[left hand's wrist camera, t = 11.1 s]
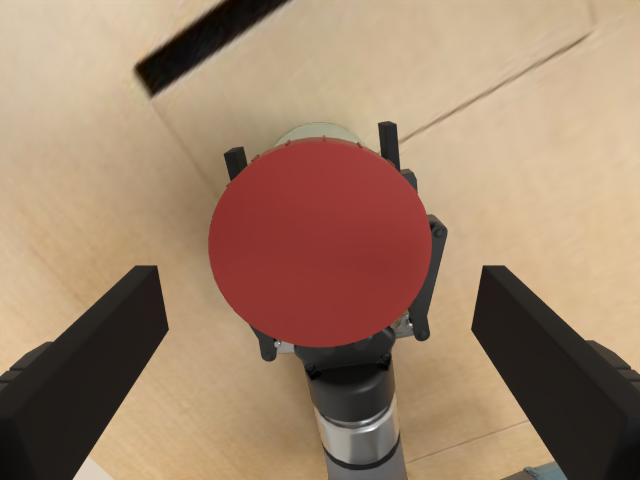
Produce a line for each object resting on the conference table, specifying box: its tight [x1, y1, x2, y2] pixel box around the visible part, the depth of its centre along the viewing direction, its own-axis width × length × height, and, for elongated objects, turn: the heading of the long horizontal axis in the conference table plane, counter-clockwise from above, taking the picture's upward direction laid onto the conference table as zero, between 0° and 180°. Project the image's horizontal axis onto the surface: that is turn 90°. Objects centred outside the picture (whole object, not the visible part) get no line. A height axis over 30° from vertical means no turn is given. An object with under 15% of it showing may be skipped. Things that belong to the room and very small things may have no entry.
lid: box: [208, 135, 432, 347], centre depth 18 cm, size 10×10×2 cm
